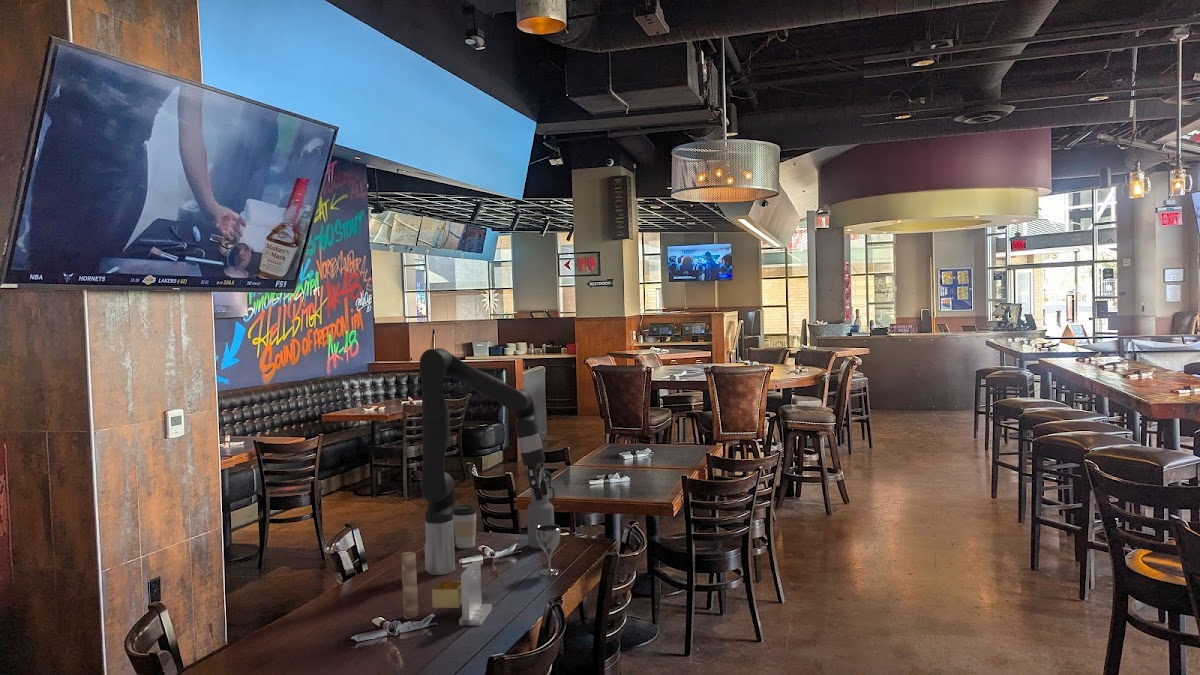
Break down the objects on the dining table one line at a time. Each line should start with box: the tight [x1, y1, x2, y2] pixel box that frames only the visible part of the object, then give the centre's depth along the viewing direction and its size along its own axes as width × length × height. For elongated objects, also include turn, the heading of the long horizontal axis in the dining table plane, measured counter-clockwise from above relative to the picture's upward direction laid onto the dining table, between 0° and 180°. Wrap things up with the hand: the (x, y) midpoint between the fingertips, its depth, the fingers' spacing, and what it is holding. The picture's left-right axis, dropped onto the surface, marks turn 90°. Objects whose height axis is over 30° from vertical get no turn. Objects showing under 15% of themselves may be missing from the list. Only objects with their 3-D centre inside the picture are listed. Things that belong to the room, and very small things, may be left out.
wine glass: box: [536, 524, 561, 577], centre depth 255 cm, size 8×8×15 cm
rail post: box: [400, 551, 419, 620], centre depth 221 cm, size 4×4×18 cm
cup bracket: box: [431, 560, 493, 626], centre depth 219 cm, size 14×12×14 cm
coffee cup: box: [453, 504, 478, 549], centre depth 290 cm, size 9×9×15 cm
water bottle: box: [526, 469, 556, 550], centre depth 286 cm, size 10×10×28 cm
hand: (542, 497), depth 253 cm, fingers open, 8 cm apart
